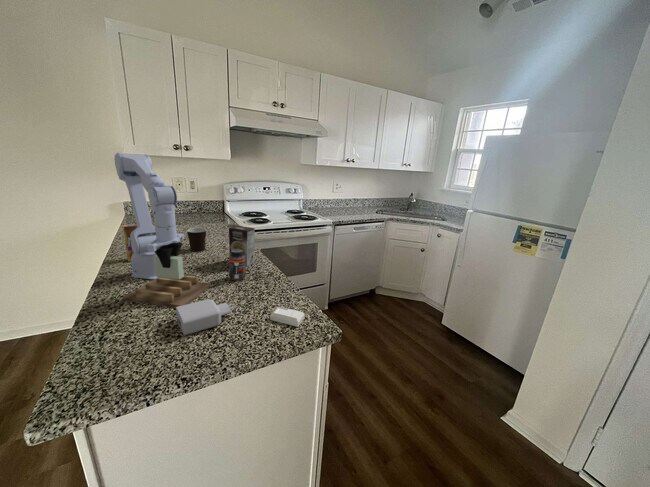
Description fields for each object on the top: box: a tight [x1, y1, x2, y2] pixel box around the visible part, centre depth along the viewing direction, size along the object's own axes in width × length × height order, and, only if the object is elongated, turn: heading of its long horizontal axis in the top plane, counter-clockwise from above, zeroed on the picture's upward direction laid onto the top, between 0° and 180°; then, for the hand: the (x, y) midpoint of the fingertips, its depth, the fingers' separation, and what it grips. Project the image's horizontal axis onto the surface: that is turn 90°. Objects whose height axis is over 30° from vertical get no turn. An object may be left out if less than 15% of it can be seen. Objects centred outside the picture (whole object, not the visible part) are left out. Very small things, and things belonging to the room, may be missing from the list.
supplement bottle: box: [228, 249, 246, 282], centre depth 103 cm, size 6×6×11 cm
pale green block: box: [154, 255, 185, 279], centre depth 89 cm, size 8×2×7 cm, turn 83°
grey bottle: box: [175, 299, 237, 336], centre depth 77 cm, size 5×9×15 cm
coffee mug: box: [186, 227, 207, 253], centre depth 132 cm, size 12×9×10 cm
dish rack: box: [121, 274, 212, 309], centre depth 90 cm, size 20×16×4 cm
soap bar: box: [269, 306, 305, 328], centre depth 80 cm, size 5×9×3 cm, turn 72°
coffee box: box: [228, 225, 256, 267], centre depth 118 cm, size 9×6×16 cm
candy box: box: [122, 223, 151, 262], centre depth 114 cm, size 9×4×15 cm, turn 126°
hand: (169, 265), depth 88 cm, fingers closed on pale green block, 2 cm apart
